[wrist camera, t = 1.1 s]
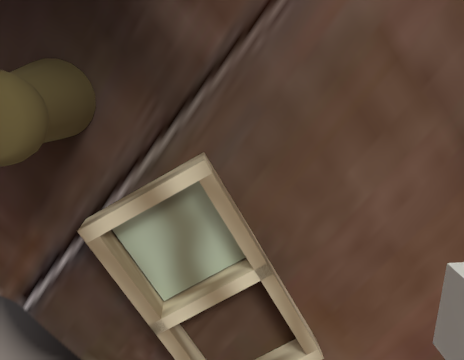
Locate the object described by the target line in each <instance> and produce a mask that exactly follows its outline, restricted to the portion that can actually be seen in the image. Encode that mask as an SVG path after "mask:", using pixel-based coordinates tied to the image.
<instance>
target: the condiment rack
mask: <svg viewBox="0 0 464 360" xmlns="http://www.w3.org/2000/svg"><path fill="white" fill-rule="evenodd" d="M111 229H112V230H113V232H114V233H115V234H116V236H117V237H118V239H119V240H120V241H121V243H122V244H123V245H124V247H125V248H126V249H125V248H124V247H123V245H122V244H121V243H120V241H119V240H118V239H117V237H116V236H115V234H114V233H113V232H112V230H111ZM77 232H78V233H79V234H80V236H81V237H82V238H83V240H84V241H85V242H86V244H87V245H88V246H89V248H90V249H91V250H92V251H93V253H94V254H95V255H96V257H97V258H98V259H99V261H100V262H101V263H102V265H103V266H104V267H105V268H106V270H107V271H108V272H109V274H110V275H111V276H112V278H113V279H114V280H115V282H116V283H117V284H118V285H119V287H120V288H121V289H122V291H123V292H124V293H125V295H126V296H127V297H128V299H129V300H130V301H131V302H132V304H133V305H134V306H135V308H136V309H137V310H138V312H139V313H140V314H141V316H142V317H143V318H144V319H145V321H146V322H147V323H148V325H149V326H150V327H151V329H152V330H153V331H154V333H155V334H156V335H157V337H158V338H159V339H160V340H161V342H162V343H163V344H164V346H165V347H166V348H167V350H168V351H169V352H170V354H171V355H172V356H173V357H174V359H175V360H206V359H205V358H204V356H203V355H202V353H201V352H200V351H199V349H198V348H197V347H196V345H195V344H194V343H193V341H192V340H191V338H190V337H189V336H188V334H187V333H186V332H185V330H184V329H183V327H182V326H181V325H180V323H181V322H183V321H185V320H187V319H189V318H191V317H192V316H194V315H196V314H198V313H200V312H202V311H204V310H206V309H208V308H210V307H212V306H213V305H215V304H217V303H219V302H221V301H223V300H225V299H227V298H229V297H231V296H232V295H234V294H236V293H238V292H240V291H242V290H244V289H246V288H248V287H250V286H251V285H253V284H255V283H257V282H259V281H261V282H262V284H263V285H264V287H265V288H266V290H267V292H268V293H269V295H270V296H271V298H272V300H273V301H274V303H275V305H276V306H277V308H278V309H279V311H280V313H281V314H282V316H283V317H284V319H285V321H286V322H287V324H288V326H289V327H290V329H291V330H292V332H293V334H294V335H295V337H296V339H294V340H292V341H290V342H288V343H287V344H285V345H283V346H281V347H279V348H277V349H275V350H273V351H271V352H269V353H267V354H265V355H263V356H261V357H259V358H257V359H255V360H322V359H324V357H323V354H322V352H321V349H320V347H319V344H318V342H317V339H316V338H315V336H314V334H313V333H312V331H311V329H310V328H309V326H308V324H307V323H306V321H305V319H304V318H303V316H302V314H301V313H300V311H299V309H298V308H297V306H296V304H295V303H294V301H293V299H292V298H291V296H290V294H289V293H288V291H287V289H286V288H285V286H284V284H283V283H282V281H281V279H280V278H279V276H278V274H277V273H276V271H275V269H274V268H273V266H272V264H271V263H270V261H269V259H268V258H267V256H266V254H265V253H264V251H263V249H262V248H261V246H260V244H259V243H258V241H257V239H256V238H255V236H254V234H253V233H252V231H251V229H250V228H249V226H248V224H247V223H246V221H245V219H244V218H243V216H242V214H241V213H240V211H239V209H238V208H237V206H236V204H235V203H234V201H233V199H232V198H231V196H230V194H229V193H228V191H227V189H226V188H225V186H224V184H223V183H222V181H221V179H220V178H219V176H218V174H217V173H216V171H215V169H214V168H213V166H212V164H211V163H210V161H209V159H208V158H207V156H206V154H205V153H204V152H203V153H202V154H200V155H198V156H196V157H195V158H193V159H191V160H189V161H187V162H186V163H184V164H182V165H180V166H179V167H177V168H175V169H173V170H171V171H170V172H168V173H166V174H164V175H163V176H161V177H159V178H157V179H156V180H154V181H152V182H150V183H148V184H147V185H145V186H143V187H141V188H140V189H138V190H136V191H134V192H133V193H131V194H129V195H127V196H125V197H124V198H122V199H120V200H118V201H117V202H115V203H113V204H111V205H109V206H108V207H106V208H104V209H102V210H101V211H99V212H97V213H95V214H94V215H92V216H90V217H88V218H86V219H85V221H84V222H83V224H82V225H81V227H80V228H79V230H78V231H77ZM126 250H127V251H128V252H129V254H130V255H131V256H132V258H133V259H134V260H135V262H136V263H137V265H138V266H139V267H140V269H141V270H142V271H143V273H144V274H145V275H144V274H143V273H142V271H141V270H140V269H139V267H138V266H137V265H136V263H135V262H134V260H133V259H132V258H131V256H130V255H129V254H128V252H127V251H126ZM244 258H245V259H244ZM242 259H243V260H242ZM240 260H241V261H240ZM238 261H239V262H238ZM236 262H237V263H236ZM234 263H235V264H234ZM231 265H232V266H231ZM229 266H230V267H229ZM227 267H228V268H227ZM225 268H226V269H225ZM223 269H224V270H223ZM221 270H222V271H221ZM219 271H220V272H219ZM216 273H217V274H216ZM214 274H215V275H214ZM212 275H213V276H212ZM145 276H146V277H147V278H148V280H149V281H150V282H151V284H152V285H153V286H152V285H151V284H150V282H149V281H148V280H147V278H146V277H145ZM210 276H211V277H210ZM208 277H209V278H208ZM206 278H207V279H206ZM204 279H205V280H204ZM201 281H202V282H201ZM199 282H200V283H199ZM197 283H198V284H197ZM195 284H196V285H195ZM193 285H194V286H193ZM191 286H192V287H191ZM153 287H154V288H155V289H156V291H157V292H158V293H159V295H160V296H161V297H162V299H163V300H164V301H163V300H162V299H161V297H160V296H159V295H158V293H157V292H156V291H155V289H154V288H153ZM189 287H190V288H189ZM186 289H187V290H186ZM184 290H185V291H184ZM182 291H183V292H182ZM180 292H181V293H180ZM178 293H179V294H178ZM176 294H177V295H176ZM174 295H175V296H174ZM171 297H172V298H171ZM169 298H170V299H169ZM167 299H168V300H167ZM165 300H166V301H165Z"/></svg>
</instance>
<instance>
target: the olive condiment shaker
mask: <svg viewBox="0 0 464 360" xmlns="http://www.w3.org/2000/svg"><path fill="white" fill-rule="evenodd" d="M95 108H96V102H95V93H94V90H93V88H92V85H91V83H90V81H89V80H88V79H87V77H86V76H85V75H84V73H83V72H82V71H81V70H79V69H78V68H77V67H75V66H74V65H73V64H71V63H69V62H66V61H63V60H60V59H52V58H44V59H41V60H37V61H34V62H31V63H29V64H27V65H24V66H22V67H20V68H18V69H16V70H13V71H11V72H6V71H3V70H0V166H9V165H13V164H16V163H20V162H22V161H24V160H25V159H27V158H28V157H30V156H31V155H33V154H34V153H36V152H37V151H38V150H39V148H40V147H41V145H42V144H43V143H46V142H50V141H55V140H59V139H64V138H67V137H71V136H75V135H77V134H78V133H80V132H81V131H83V130H84V129H86V127H87V126H88V124H89V123H90V122H91V120H92V119H93V115H94V112H95Z"/></svg>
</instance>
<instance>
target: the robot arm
mask: <svg viewBox="0 0 464 360" xmlns="http://www.w3.org/2000/svg"><path fill="white" fill-rule="evenodd" d="M433 344H434V345H435V347H436V348H437V349H438V350H439V352H440V353H441V354H442V356H443V357H444V358H445V360H464V262H462V263H447V267H446V273H445V278H444V284H443V289H442V295H441V300H440V306H439V311H438V317H437V322H436V328H435V333H434V339H433Z"/></svg>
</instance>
